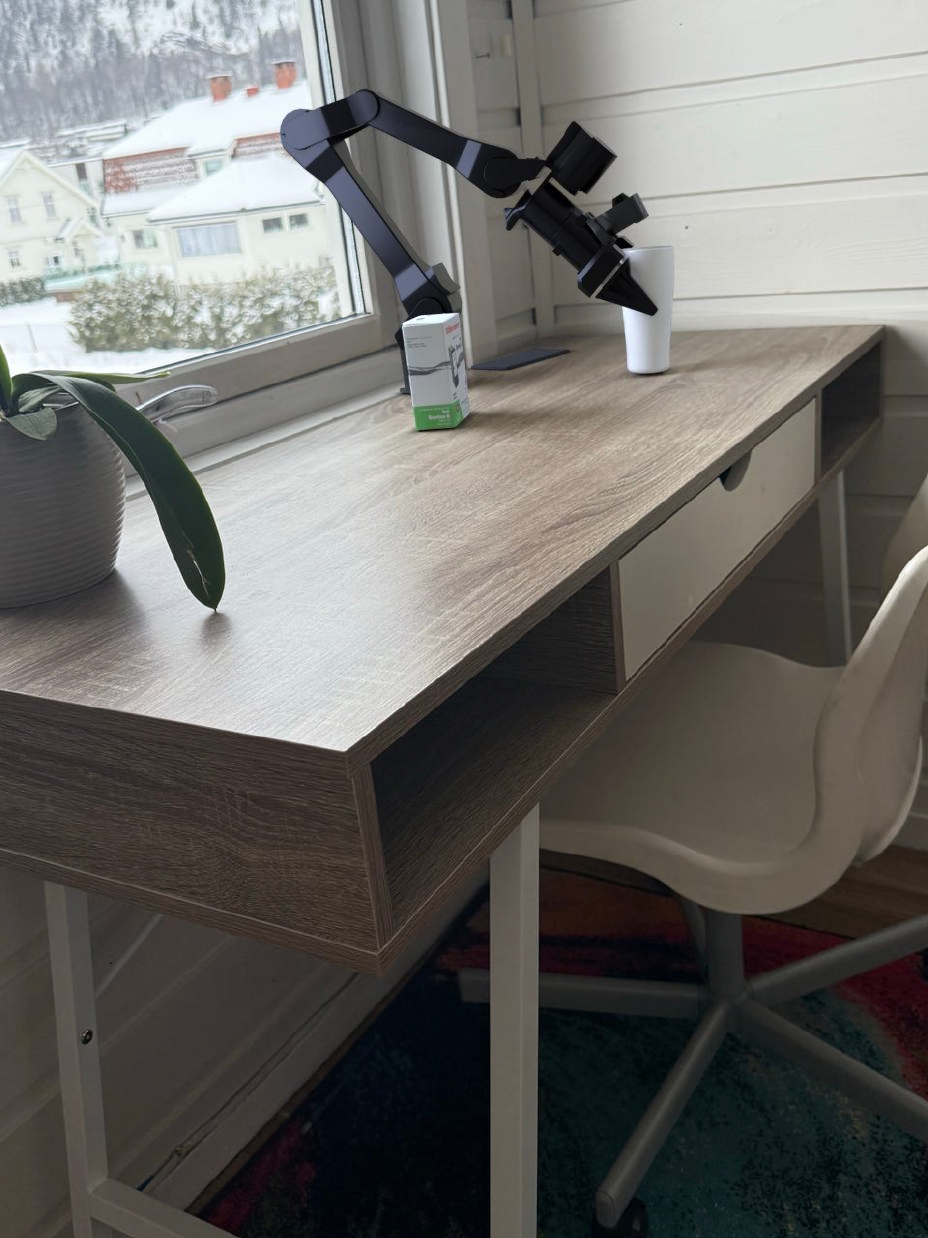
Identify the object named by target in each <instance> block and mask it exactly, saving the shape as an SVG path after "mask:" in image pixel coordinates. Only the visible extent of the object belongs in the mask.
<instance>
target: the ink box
mask: <svg viewBox="0 0 928 1238" xmlns="http://www.w3.org/2000/svg"><path fill="white" fill-rule="evenodd" d="M402 324H403V326H402V329H403V336H404V344H405V351H406V359H407V366H408V373H409V382H410V390H411V394H410V397H411V404H412V409H413V418H414V419H413V420H414V426H415V430H416V431H424V430H437V429H438V430H439V429H440V430H441V429H452V428H457V427H458V425H460V424H461V422H462V421H464V419H466V417H468V416H469V414H470V413H471V406H470V400H469V399H470V398H469V388H468V381H467V372H466V364H465V356H464V355H465V354H464V348H463V346H464V345H463V338H462V329H461V319H460V317H459V313H451V314H436V315H423V316H418V317H416V318H414V319H411V320H409V321H407V322H405V323H404V322H403V323H402Z"/></svg>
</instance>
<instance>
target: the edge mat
mask: <svg viewBox="0 0 928 1238" xmlns="http://www.w3.org/2000/svg"><path fill="white" fill-rule="evenodd" d="M569 352H570V349H569V348H531V349H528V350H524V351H520V352H517V353H513V354H510V355H506V356H503V357H499V358H495V359H492V360H488V361H484V362H480V363H478V364H477V363H476V364H474V365H471V366H470V369H471V370H493V371H496V370H498V371H508V370H511V369H515V368H518V367H519V368H520V367H522V366H526V365H530V364H532V363H535V362H539V361H542V360H543V361H544V360H546V359H549V358H554V357H557V356H560V355H563V354H567V353H569Z"/></svg>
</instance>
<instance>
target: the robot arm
mask: <svg viewBox="0 0 928 1238" xmlns="http://www.w3.org/2000/svg"><path fill="white" fill-rule="evenodd" d="M370 127H371V128H374V129H376V130H378V131H380V132H382V133H384V134H385V135H387V136H390V137H392V138H394V139H396V140H398V141H400V142H402V143H404V144H407V145H408V146H410V147H413V148H415V149H416V150H418V151H420V152H423V153H425V154H427V155H428V156H431V157H432V158H435V159H437V160H439V161H441V162H443V163H445V164H447V165H448V166H449V167H451V168H452V169H454V170H455V171H457V172H458V173H459V174H460V175H461V176H462V177H463V178H464V179H466V180H467V181H468V182H469V183H470V184H472V185H473V186H474V187H476V188H478V189H479V190H480V191H481V192H483V193H484V194H485V195H487V196H489V197H490V198H494V199H507V198H510V197H514V196H515V195H518V194H520V193H521V192H522V191H523V190H524V189H525V188H526V186H527V184H528V183H529V182H531V181H534V180H537V179H540V178H543V177H545V176H546V175H547V173H548V172H549V171H550V172H549V173H548V175H547V176H546V177H545V179H544V180H543V181H542V182H541V183H540V185H539V186H538V187H537V188H536V190H535V191H534V189H531V188H527V189H526V190H525V191H524V193H523V194H522V195H521V196H520V198H519V199H518V200H517V201H516V203H515V204H514V206H512V207H511V206H507V207H504V208H503V210H502V211H503V214H504V217H505V230H506V231H507V232H509V231H513V230H515V229H516V228H517V226H518V225H519V224H520V222H522V223H523V224H524V225H525V226H527V227H528V228H529V229H530V230H531V231H532V232H533V233H534V234H536V235H537V236H538V237H539V238H540V239H541V240H542V241H543V242H545V243H546V245H548V246H549V247H550V248H551V249H552V250H551V252H552V253H553V254H554V255H555V256H556V257H562V259H564V260H565V261H566V262H567V263H568V264H569V265H571V267H573V268H574V269H575V270H576V271H577V272H576V274H577V276H576V281H577V284H576V285H577V289H578V290H579V291H580V292H581V293H582V294H583V295H584V296H586V297H587V298H588V299H590V298H591V297H592V296H593V295H594V294H595V292H597V290H598V289H599V287H601V289H600V290H599V291H598V293H596V295H595V296H594V298H595V299H596V300H600V301H604V302H608V303H611V304H614V305H616V306H620V307H622V306H623V307H626V308H629V309H632V310H635V311H638V312H641V313H644V314H647V315H650V316H654V315H655V314H656V312H657V311H658V308H657V307H656V305H655V304H654V303H653V301H652V300H651V299H650V297H649V296H648V295H647V294H646V292H645V291H644V290H643V289H642V287H641V286H640V285H639V284H638V282H637V281H636V280H635V279H634V277H633V276H632V274H631V260H630V256H629V257H628V258H627V259H626V260H625V262H623V261H622V259H623V258H624V256H625V255H626V254H625V253H624V252H623V251H622V250H621V249H628V248H634V246H635V244H634V242H632V241H631V240H630V239H629V238H628V237H627V236H626V235H618V234H619V233H621V232H623V231H624V230H625V229H627V228H629V227H631V226H632V225H634V224H639V223H640V222H642V221H644V220H646V219H647V218H648V217H649V216H650V214H649V212H648V210H647V209H646V207H645V204H644V203H643V200H642V199H641V197H640V195H639V193H638V192H635V193H634V194H632V195H628V194H626V193H625V192H621V193H619V194H617V195H616V196H615V197H612V199H611V208H609V209H608V210H606V211H604V212H603V213H601V214H599V215H598V216H597V215H595V214H594V213H593V212H592V211H591V210H590V211H584V210H583V209H581V207H579V206H578V205H577V204H576V203H575V202H574V201H573V200H572V199H570V198H569V197H568V196H567V195H566V194H564V192H562V191H561V190H560V188H558V187H557V186H556V185H554V184H553V183H552V181H553V180H554V181H555V182H557V184H558V185H559V186H560V187H561V188H563V189H564V190H565V191H566V192H567V193H569V194H570V195H572V196H573V197H577V196H578V194H579V192H582V193H583V194H585V195H586V196H587V195H589V193H590V192H591V191H592V190H593V189H594V187H595V186H596V185H597V183H598V182H599V181H600V180H601V179H602V177H603V176H604V175H605V174H606V172H607V171H608V170H609V169H610V167H612V165H613V164H614V162H615V161H616V160H617V159H618V157H619V156H618V154H616V152H615V151H614V150H613V149H611V148H610V146H609V145H608V144H606V142H604V141H603V140H602V139H601V138H600V137H598V136H595V135H594V134H592V133H591V132H590V131H589V130H588V129H587V128H585V127H584V126H582V125H581V124H580V123H579V122H578V121H577V120H573V121H571V122H570V124H569V125H568V126H567V127H566V129H565V131H564V133H563V135H562V137H560V140H558V142H557V143H556V144H555V146H554V147H553V148H552V150H551V151H550V152H549V154H548V155H547V156H546V158H545V157H544V156H543V155H536V156H535V157H526V156H525V154H524V153H522V152H521V151H519V150H518V149H516V148H513V147H509V146H505V145H501V144H498V143H495V142H490V141H487V140H482V139H479V138H474V137H471V136H467V135H464V134H463V133H460V132H458V131H456V130H454V129H452V128H450V127H448V126H446V125H445V124H442V123H440V122H437V121H436V120H433V119H432V118H429V117H428V116H426V115H423V114H421V113H420V112H417V111H416V110H413V109H412V108H410V107H407V106H405V105H403V104H401V103H399V102H397V101H395V100H393V99H391V98H389V97H387V96H386V95H385V94H383V92H381V91H380V90H376V89H371V88H362V89H359V90H356V91H355V92H354V93H353V94H350V95H348V96H346V97H343V98H340V99H337V100H335V101H332V102H329V103H327V104H323V105H321V106H318V107H317V108H315V109H314V108H313V109H309V108H297V109H292V110H291V111H290V112H288V113H286V115H285V116H284V118H283V119H282V121H281V124H280V127H279V128H280V129H279V141H280V144H281V146H282V148H283V149H284V150H285V152H286V153H287V154H288V155H289V156H290V157H291V158H292V159H293V160H295V162H296V163H298V165H299V166H300V167H301V168H302V169H304V170H305V171H306V172H307V173H309V175H311V176H313V177H314V178H315V179H317V180H318V181H319V182H321V183H322V184H323V185H324V186H325V187H326V188H327V189H328V191H329V192H330V193H331V195H332V196H333V198H334V199H335V201H336V202H337V203H338V205H339V206H340V207H341V208H342V210H343V212H344V213H345V214H346V215H347V217H348V218H349V220H350V221H351V222H352V224H353V225H354V226H355V228H356V229H357V231H358V232H359V233H360V235H361V236H362V237H363V239H364V240H365V242H366V243H367V244H368V245H369V247H370V248H371V250H372V251H373V252H374V254H375V255H376V257H377V258H378V259H379V261H380V262H381V263H382V265H383V267H384V268H385V269H386V270H387V272H388V273H389V275H390V276H391V277H392V279H393V281H394V284H395V287H396V291H397V293H398V297H399V299H400V302H401V304H402V306H403V308H404V310H405V312H406V314H407V317H406V318H405V320H404V321H403V323H405V322H407V321H409V320H411V319H414V318H416V317H418V316H423V315H436V314H451V313H459V318H460V317H461V314H462V310H463V298H462V296H461V294H460V292H459V291H458V290H460V289H461V287H462V286H461V285H460V284H458V283H456V282H455V280H453V278H451V275H450V274H449V272H448V270H447V268H446V266H445V265H444V263H443V262H438V263H436V264H433V265H429V264H428V263H427V262H426V261H425V260H424V259H422V257H420V256H419V254H418V253H417V252H416V250H415V249H414V248H413V246H412V245H411V243H410V242H409V241H408V239H407V238H406V236H405V235H404V234H403V232H402V231H401V228H399V226H398V225H397V224H396V222H395V221H394V220H393V218H392V217H391V215H390V214H389V213H388V211H387V210H386V208H385V207H384V206H383V205H382V203H381V202H380V200H379V199H378V197H377V196H376V195H375V193H374V192H373V190H371V188H370V186H369V185H368V183H367V182H366V181H365V179H364V178H363V177H362V175H361V174H360V173H359V171H358V170H357V168H356V166H355V164H354V162H353V159H352V155H351V153H350V150H349V149H350V148H349V147H348V143H347V141H346V140H347V139H349V138H351V137H353V136H355V135H357V134H358V133H360V132H362V131H364V130H365V129H367V128H370ZM403 323H402V324H401V325H400V326H399V328H398V329H397V330H396V332H395V333H394V338H395V341H396V343H397V345H398V347H399V352H400V360H401V367H402V374H403V382H404V387H400V388H399V393H404V394H409V395H411V390H410V382H409V373H408V366H407V359H406V351H405V344H404V336H403V329H402V326H403Z"/></svg>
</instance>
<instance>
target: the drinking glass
mask: <svg viewBox="0 0 928 1238" xmlns="http://www.w3.org/2000/svg"><path fill="white" fill-rule="evenodd" d="M621 250H622V251H623V252H624V253H625V254H626V255H625V256H624V258H623V259H622V261H623V262H625V260H626V259H627V258H628V257H629V256H630V260H631V274H632V276H633V277H634V279H635V280H636V281H637V282H638V284H639V285H640V286H641V287H642V289H643V290H644V291H645V292H646V294H647V295H648V296H649V297H650V299H651V300H652V301H653V303H654V304H655V305H656V307H657V308H658V311H657V312H656V314H655V315H654V316H650V315H647V314H644V313H641V312H638V311H635V310H632V309H629V308H626V307H623V306H621V311H622V312H621V313H622V321H623V330H624V340H625V349H626V368H627V370H628V371H629V372H630V373H632V374H656V373H663V372H666V371H667V370H668V369H669V368H670V365H671V364H670V363H671V360H670V359H671V357H670V355H671V353H670V352H671V351H670V350H671V336H672V335H671V334H672V322H673V321H672V320H673V308H674V307H673V306H674V293H675V251H674V246H673V245H655V246H639V247H633V248H628V249H621Z"/></svg>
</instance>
